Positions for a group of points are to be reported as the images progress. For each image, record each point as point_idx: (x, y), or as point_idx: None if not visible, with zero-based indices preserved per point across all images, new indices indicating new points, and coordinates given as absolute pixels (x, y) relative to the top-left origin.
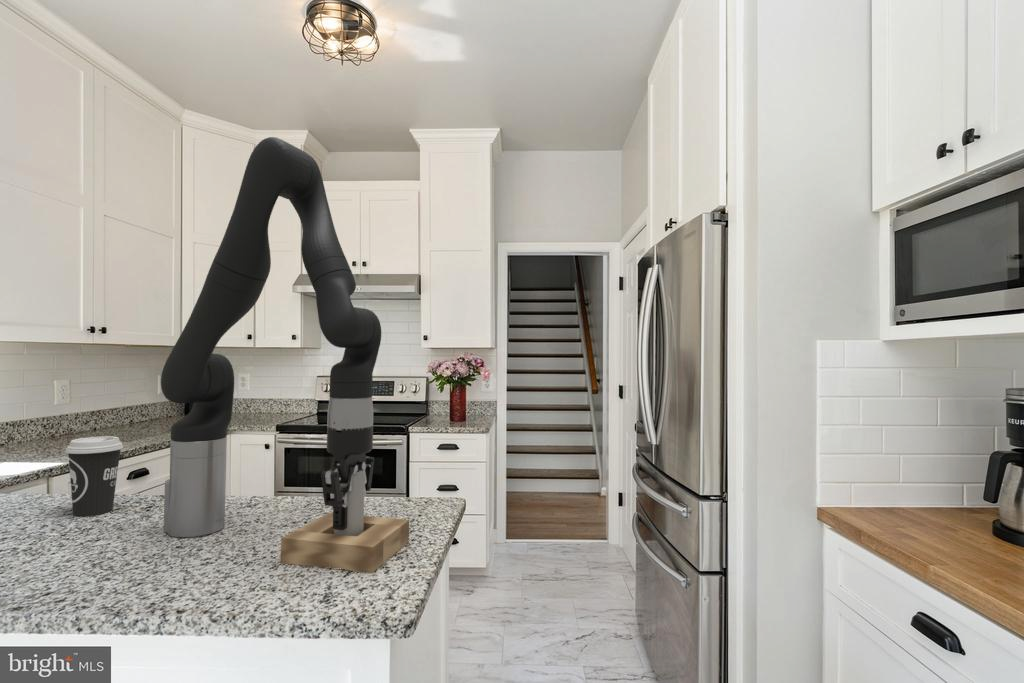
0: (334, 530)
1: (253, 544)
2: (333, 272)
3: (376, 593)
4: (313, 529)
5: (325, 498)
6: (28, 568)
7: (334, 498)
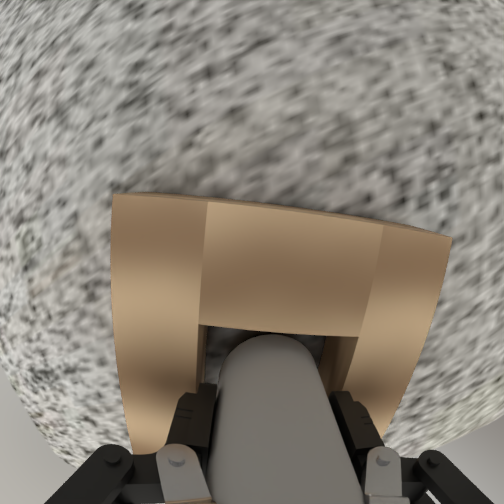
0: (240, 360)
1: (289, 29)
2: None
3: (88, 438)
4: (234, 278)
5: (82, 473)
6: None
7: (118, 496)
